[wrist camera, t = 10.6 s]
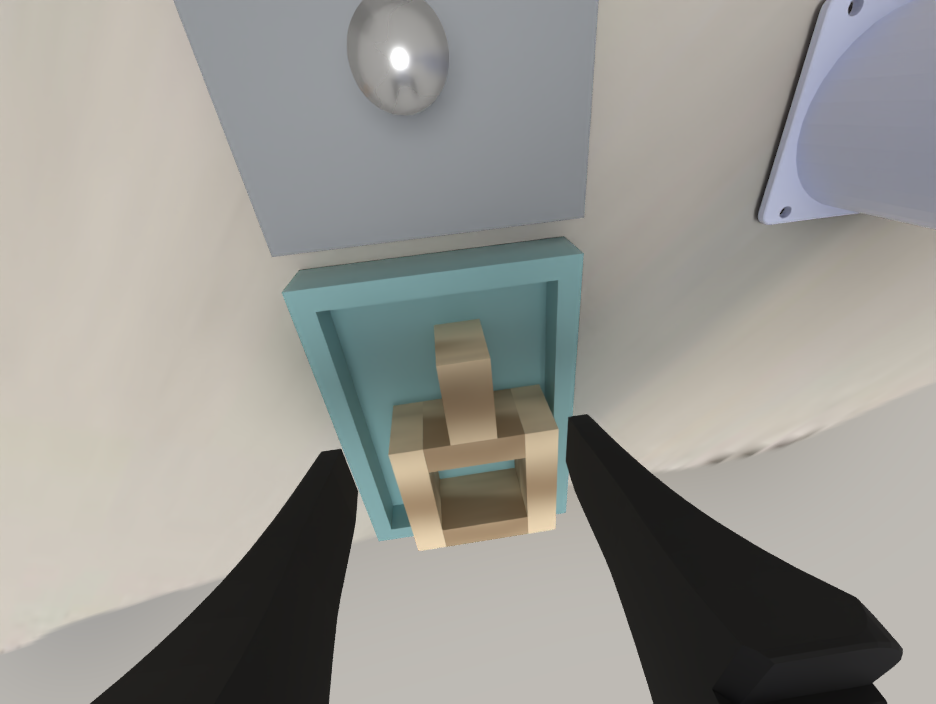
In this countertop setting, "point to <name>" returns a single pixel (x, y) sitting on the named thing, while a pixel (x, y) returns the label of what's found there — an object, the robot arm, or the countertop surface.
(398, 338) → the tray
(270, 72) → the board
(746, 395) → the countertop surface
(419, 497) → the maple collar
